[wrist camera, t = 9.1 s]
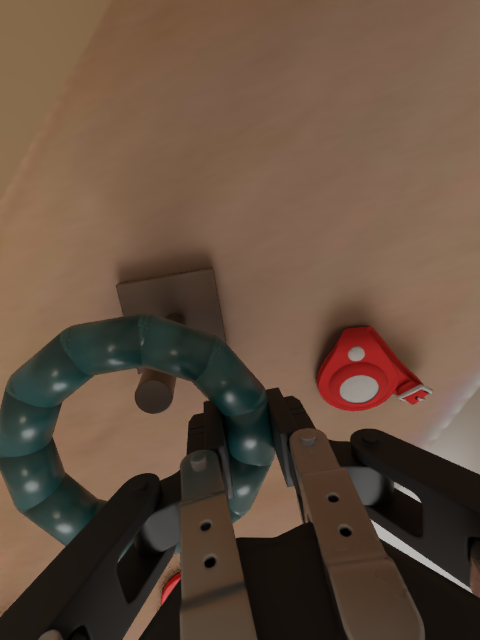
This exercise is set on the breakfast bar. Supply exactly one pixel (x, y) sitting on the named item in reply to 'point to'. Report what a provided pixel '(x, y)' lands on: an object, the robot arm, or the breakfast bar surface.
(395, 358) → the tracker holder
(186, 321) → the brown peg stand
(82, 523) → the ring
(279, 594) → the robot arm
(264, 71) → the breakfast bar surface
